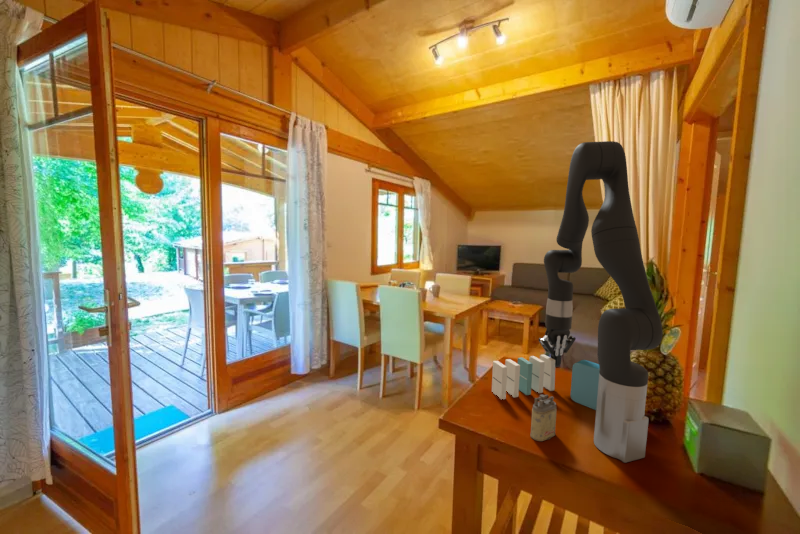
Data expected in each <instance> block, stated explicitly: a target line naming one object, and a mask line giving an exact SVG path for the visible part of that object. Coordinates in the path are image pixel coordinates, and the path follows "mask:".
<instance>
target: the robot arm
mask: <svg viewBox="0 0 800 534" xmlns="http://www.w3.org/2000/svg"><path fill="white" fill-rule="evenodd" d="M569 163H570V164H569V169H568V176H567V185H566V193H565V201H564V202H565V203H564V207H563V208H564V209H563V214H562V218H561V221H560V225H559V228H558V232H557V235H556V243H557V245H558V246H560V247H562V248H564V249H550V250H548V251H547V252H546V253H545V255H544V257H543V264H544V265H543V266H544V268H545V272H546V273H545V274H546V277H547V278H546V279H547V285H548V286H547V287H548V291H547V300H546V307H545V308H546V309H545V323H544V325H545V327H546V330H545V333H544V336H543V337H539V338H538V342H539V344H540V346H541V347H542V348H543V349H544V351H545V352H546V353H548V354H550V358H552V359H554V360H555V368H557V367H561V363H562V356H563V355H564V354H567V353H568V352H569V350H570V348H571V347H572V346H573V344H574V343H575V341H576V336H573V335H572V334H571V331H570V330H571V329H572V324H573V311H574V310H573V309H574V305H573V295H574V284H573V282H572V281H571V280H566V279H562V278H560V277H559V273H560V274H564V273H569V274H571V273H576V272H578V271H579V270H580V268H581V267H582V264H583V242H584V239H585V236H586V233H587V232H588V231H587V230H588V227H589V223H590V222H589V221H590V218H589V212H588V209H587V206H586V203H585V201H584V200H585V199H584V196H583V191H584V190H583V189H584V186H585V183H586V181H593V180H595V181H597V180H602V182H603V186H604V199H603V202H602V205H601V207H600V209H599V210H598V212H597V214H596V215H595V219H594V220H593V222H592V226H591V231H590V232H591V239H592V243H593V244H592V246H593V251H594V255H595V257H596V259H597V261H598V262H599V264H600V266H601V267H602V268H603V269H604V270H605V271H606V272H607V275H609V276H610V277H611V278H612V280H613V281H614V282H615V284H616V286H617V287H618V288H619V291H620V293H621V295H622V299H623V300H622V301H623V303H624V308H623V307H622V308H608V309H606V310H605V311H603V312H602V313H601V316H600V318H599V320H598V326H597V362H598V364H599V367H600V371H599V382H598V394H597V406H596V410H595V420H594V421H595V422H594V433H593V443H594V445H595V447H596V448H597V449H598V450H600V452H602V453H603V454H606V456H610V457H612V458H614V459H618V460H619V461H621V462H622V463H625V464H626V463H629V462H632V461H637V460H640V459H644V458H645V457H646V450H647V449H646V447H647V441H648V439H647V438H648V431H649V428H648V427H649V417H648V416H646V415H645V412H646V411H645V410H646V402H647V394H648V393H647V391H648V382H649V372H648V370H647V369H646V368H645V367H644V366H643V365H642V364H639V363H637V362H634V361H632V360H631V351H640V350H641V351H643V350H644V351H645V350H646V351H648V350H653V349H656V348H658V347H659V345H661V342H662V339H663V335H664V334H663V332H664V331H663V324H662V320H661V317H660V314H659V310H658V308H657V305H656V302H655V299H654V296H653V294H652V289H651V287H650V283H649V281H648V277H647V273H646V268H645V264H644V259H643V255H642V254H643V253H642V249H641V242H640V238H639V233H638V229H637V225H636V221H635V218H634V211H633V208H632V202H631V196H630V189H629V178H628V177H629V176H628V166H627V157H626V153H625V150H624V147H623V145H622V144H621V143H620V142H618V141H613V140H612V141H611V140H610V141H609V140H607V141H586V142H581V143H579V144H578V145H577V146H576V147H575V149H574V150H573V153H572V155H571V159H570V162H569Z"/></svg>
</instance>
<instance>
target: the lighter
mask: <svg viewBox="0 0 800 534" xmlns="http://www.w3.org/2000/svg"><path fill="white" fill-rule="evenodd" d="M554 399H555V397H554V396H549V394H542V393H540V394H539V396H538V397H534V403H533V404H532V409H531V422H530V423H531V424H530V425H531V426H530V438H531V439H532V440H534V441H537V442H543V441H546V440H551V438H553V437H554V436H556V423H557V422H556V421H557V408H558V407H557V403H556V402H555V401H554Z"/></svg>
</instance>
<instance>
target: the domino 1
mask: <svg viewBox="0 0 800 534" xmlns="http://www.w3.org/2000/svg"><path fill="white" fill-rule="evenodd" d="M491 375H492V377H491V378H492V379H491V393H492V392H493V393H492V394H494V395H495V396H496V395H497V396H498V397H499V398H498V397H497V396H496V397H497V398H498V399H500V400H502V399H503V400H506V399H507V397H506V396H507V392H506V383H507V366H505V364H503V363H502V362H501V361H499V360H493V361H492V372H491Z"/></svg>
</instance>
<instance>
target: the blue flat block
mask: <svg viewBox="0 0 800 534" xmlns="http://www.w3.org/2000/svg"><path fill="white" fill-rule="evenodd" d="M571 368H572V371H571V386H570V399H571V400H572V401H573V402H575V403H577V404H579V405H582V406H585V407H587V408H590V409H592V410H594V411H596V406H597V394H598V382H599V371H600V367H599V363H596V362H593V361H590V360H586V359H581V360H579V361H577V362H575V363H573V365H572V367H571Z"/></svg>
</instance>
